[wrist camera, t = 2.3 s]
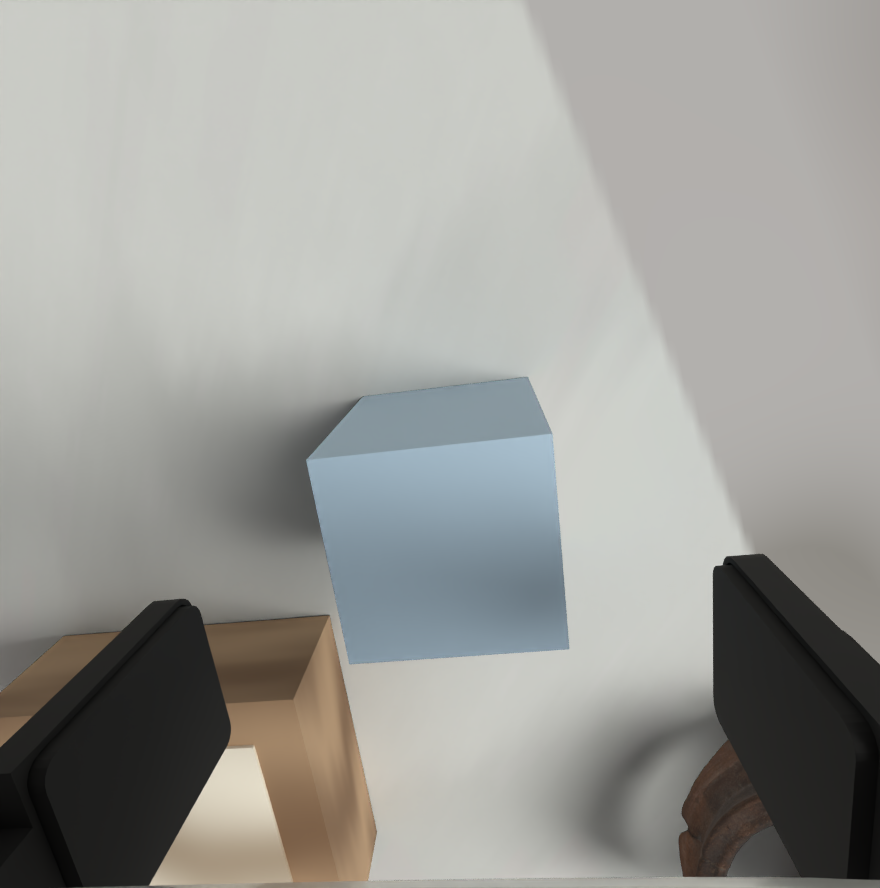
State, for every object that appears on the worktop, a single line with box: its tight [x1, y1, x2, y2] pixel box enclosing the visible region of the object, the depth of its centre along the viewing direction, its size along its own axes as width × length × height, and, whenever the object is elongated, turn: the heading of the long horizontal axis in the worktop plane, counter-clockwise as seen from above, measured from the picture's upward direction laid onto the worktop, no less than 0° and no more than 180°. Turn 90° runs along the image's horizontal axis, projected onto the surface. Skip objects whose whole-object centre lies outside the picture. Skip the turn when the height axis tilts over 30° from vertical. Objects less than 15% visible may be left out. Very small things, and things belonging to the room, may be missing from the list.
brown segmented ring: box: [679, 739, 773, 877], centre depth 18 cm, size 12×10×8 cm
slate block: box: [306, 377, 569, 664], centre depth 15 cm, size 5×5×6 cm
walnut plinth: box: [0, 616, 377, 886], centre depth 20 cm, size 10×10×4 cm
